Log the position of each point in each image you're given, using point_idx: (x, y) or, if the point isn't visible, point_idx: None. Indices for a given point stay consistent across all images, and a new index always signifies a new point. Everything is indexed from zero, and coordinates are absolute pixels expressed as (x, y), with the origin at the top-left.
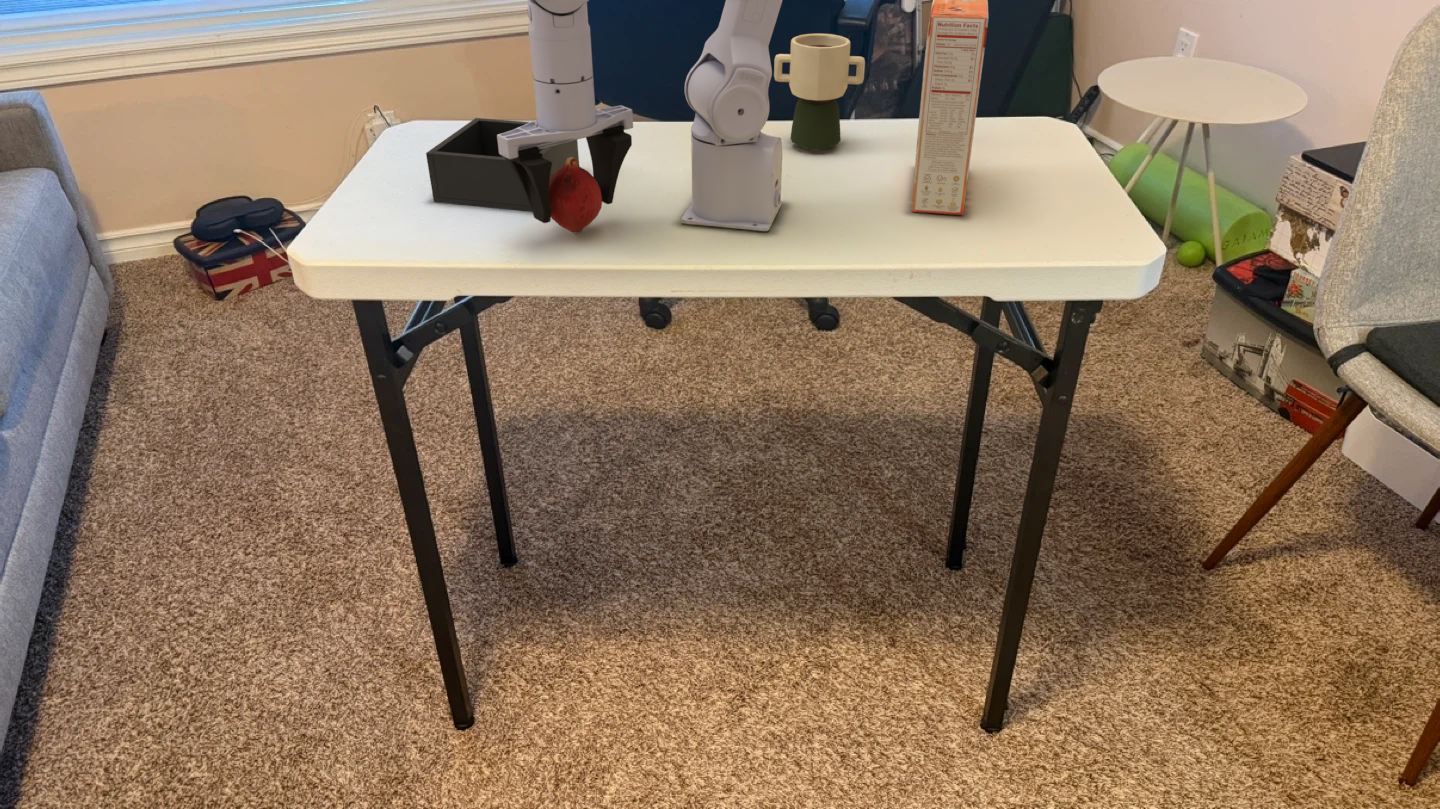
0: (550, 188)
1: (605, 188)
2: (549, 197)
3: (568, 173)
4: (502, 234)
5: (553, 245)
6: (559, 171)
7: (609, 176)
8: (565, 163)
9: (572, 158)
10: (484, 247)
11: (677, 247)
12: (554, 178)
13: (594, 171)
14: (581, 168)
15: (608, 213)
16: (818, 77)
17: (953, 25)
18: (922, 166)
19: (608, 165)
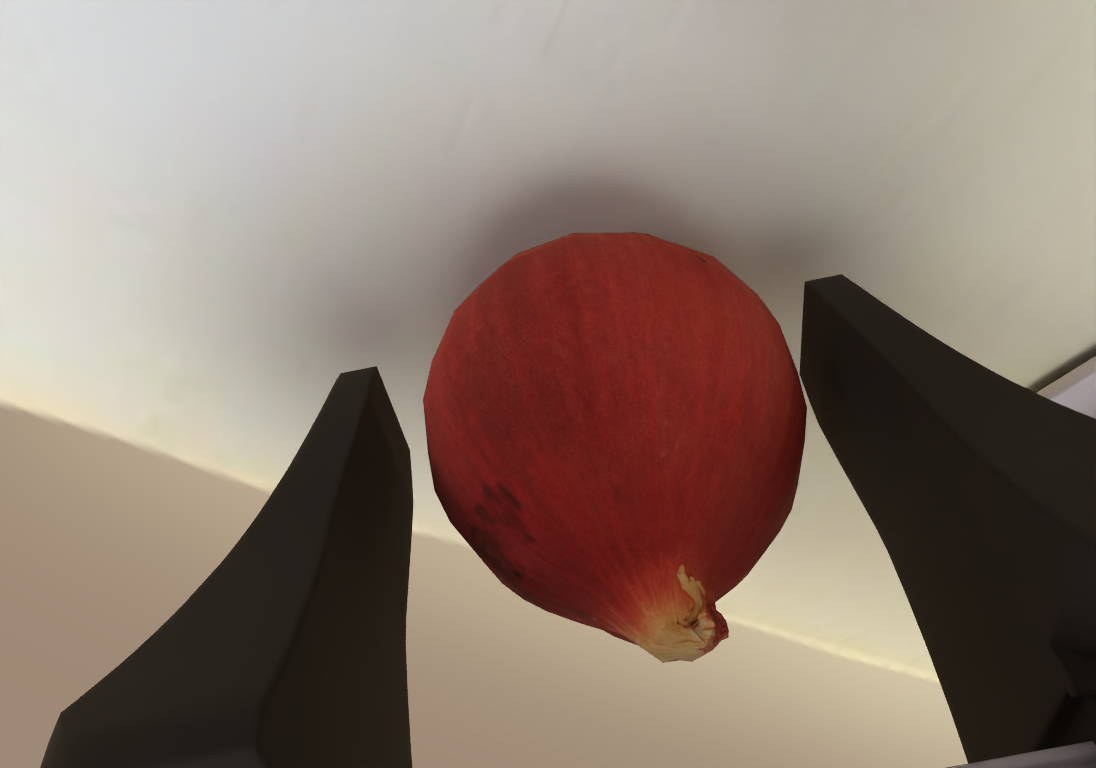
0: (458, 523)
1: (839, 425)
2: (438, 496)
3: (596, 627)
4: (158, 119)
5: (414, 363)
6: (560, 578)
7: (879, 524)
8: (625, 622)
9: (688, 660)
10: (30, 246)
11: (840, 535)
12: (506, 556)
13: (891, 386)
14: (725, 587)
15: (878, 123)
16: None
17: None
18: None
19: (916, 580)
